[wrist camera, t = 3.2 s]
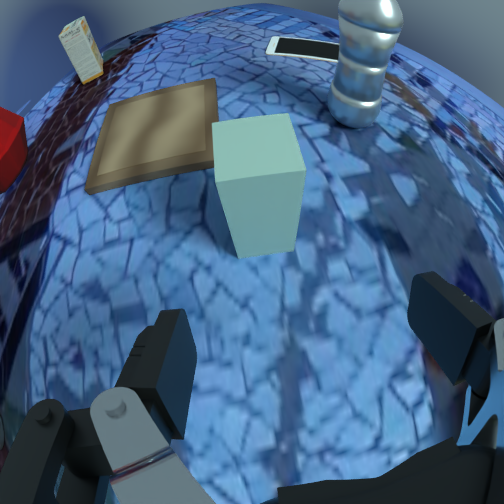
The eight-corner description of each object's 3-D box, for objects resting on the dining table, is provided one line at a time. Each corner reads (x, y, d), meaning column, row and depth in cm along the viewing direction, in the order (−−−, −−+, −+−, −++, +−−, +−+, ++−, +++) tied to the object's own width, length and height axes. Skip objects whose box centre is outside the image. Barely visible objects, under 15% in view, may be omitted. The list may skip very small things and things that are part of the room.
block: (238, 258, 25) (215, 182, 15) (233, 211, 27) (211, 123, 16) (293, 250, 25) (306, 170, 15) (284, 203, 27) (288, 113, 16)
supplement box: (104, 74, 41) (81, 22, 29) (83, 85, 41) (57, 36, 28) (104, 60, 44) (84, 14, 32) (84, 70, 44) (63, 26, 32)
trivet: (89, 195, 29) (84, 189, 28) (112, 110, 35) (109, 104, 34) (222, 166, 29) (220, 158, 28) (216, 84, 35) (214, 77, 34)
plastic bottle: (329, 134, 30) (353, -34, 11) (320, 99, 32) (333, -43, 14) (381, 137, 29) (426, -14, 11) (367, 102, 32) (395, -30, 14)
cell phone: (363, 69, 36) (364, 66, 36) (265, 56, 38) (264, 53, 38) (359, 50, 39) (360, 47, 38) (272, 38, 41) (272, 36, 41)
